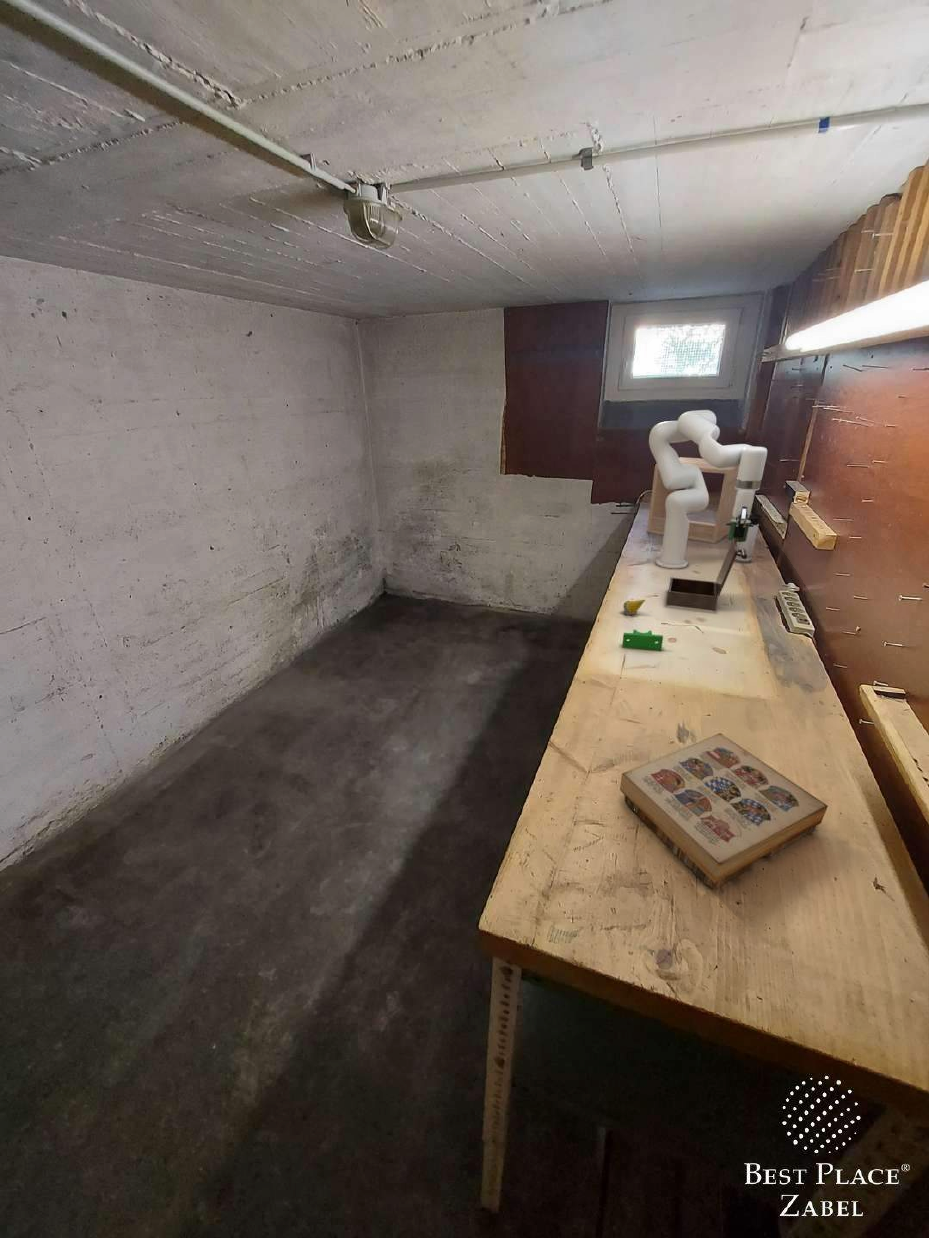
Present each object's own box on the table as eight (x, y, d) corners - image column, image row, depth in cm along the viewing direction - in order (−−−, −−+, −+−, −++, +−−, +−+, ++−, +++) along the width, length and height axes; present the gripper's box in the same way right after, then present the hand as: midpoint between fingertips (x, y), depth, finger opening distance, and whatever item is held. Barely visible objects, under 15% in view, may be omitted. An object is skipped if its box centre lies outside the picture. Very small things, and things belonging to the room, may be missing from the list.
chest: (665, 606, 172) (668, 591, 169) (668, 591, 183) (670, 577, 181) (714, 612, 165) (717, 597, 163) (713, 596, 177) (716, 582, 175)
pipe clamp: (659, 644, 148) (662, 631, 146) (661, 650, 145) (663, 637, 143) (621, 641, 150) (623, 628, 148) (622, 647, 147) (623, 633, 145)
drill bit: (629, 610, 171) (651, 597, 164) (628, 622, 168) (650, 609, 160) (618, 602, 170) (639, 589, 162) (616, 614, 167) (639, 601, 159)
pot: (723, 541, 175) (727, 522, 172) (722, 536, 180) (726, 517, 177) (751, 543, 172) (755, 524, 169) (749, 538, 177) (754, 519, 174)
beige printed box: (709, 745, 107) (608, 788, 97) (715, 722, 104) (611, 763, 94) (824, 828, 86) (711, 892, 76) (834, 801, 84) (719, 865, 74)
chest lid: (735, 550, 155) (751, 554, 153) (733, 538, 167) (748, 541, 165) (716, 595, 163) (731, 599, 161) (715, 580, 175) (729, 584, 173)
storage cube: (735, 529, 252) (749, 461, 237) (715, 543, 233) (729, 470, 218) (669, 520, 273) (678, 457, 258) (647, 532, 255) (655, 464, 240)
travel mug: (753, 563, 206) (763, 517, 198) (736, 563, 208) (746, 517, 199) (748, 558, 212) (758, 513, 203) (732, 558, 213) (741, 513, 205)
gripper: (734, 479, 176) (725, 528, 184) (737, 488, 162) (726, 540, 170) (758, 480, 173) (747, 529, 181) (762, 489, 159) (751, 542, 167)
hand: (737, 534), depth 175 cm, fingers closed on pot, 6 cm apart
